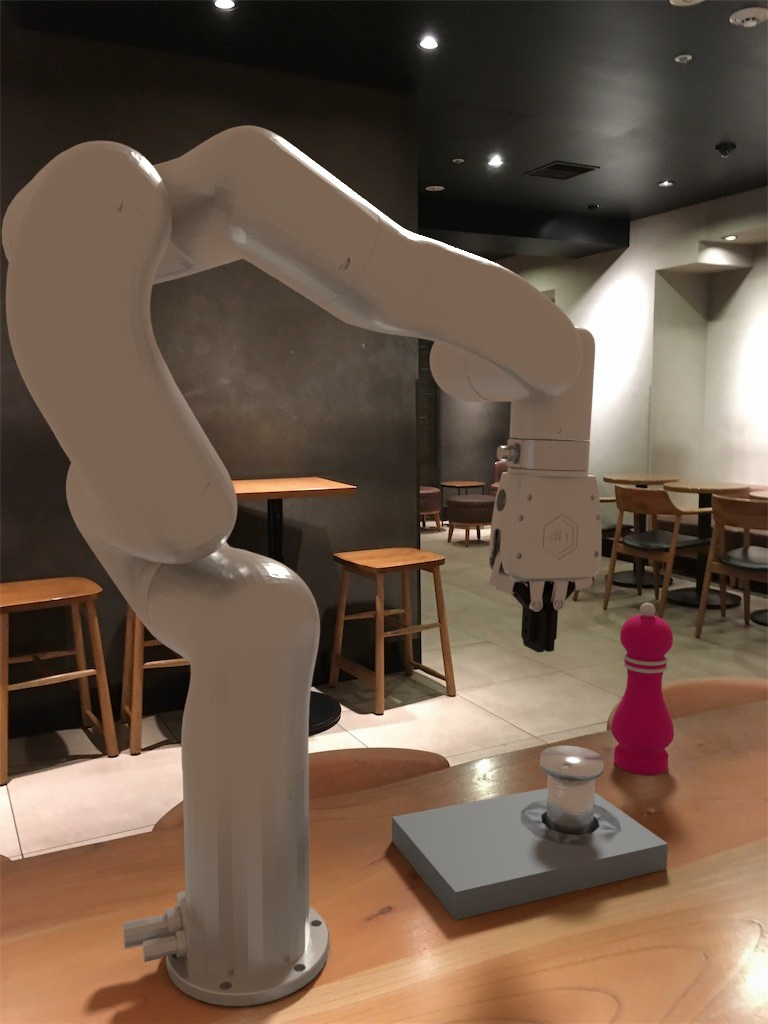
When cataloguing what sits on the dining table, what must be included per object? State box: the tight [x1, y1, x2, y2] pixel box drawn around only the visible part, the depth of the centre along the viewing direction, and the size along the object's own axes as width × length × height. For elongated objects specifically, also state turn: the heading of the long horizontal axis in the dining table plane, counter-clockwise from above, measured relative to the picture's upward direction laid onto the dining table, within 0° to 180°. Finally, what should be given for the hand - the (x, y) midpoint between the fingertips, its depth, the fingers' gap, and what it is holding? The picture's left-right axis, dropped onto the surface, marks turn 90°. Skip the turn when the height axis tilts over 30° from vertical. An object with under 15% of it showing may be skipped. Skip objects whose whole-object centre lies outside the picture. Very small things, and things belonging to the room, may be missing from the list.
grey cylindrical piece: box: [539, 745, 605, 835], centre depth 82 cm, size 6×6×9 cm
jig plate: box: [391, 787, 669, 921], centre depth 80 cm, size 22×14×2 cm, turn 112°
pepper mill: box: [610, 602, 675, 776], centre depth 100 cm, size 7×7×20 cm
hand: (538, 648), depth 81 cm, fingers closed
